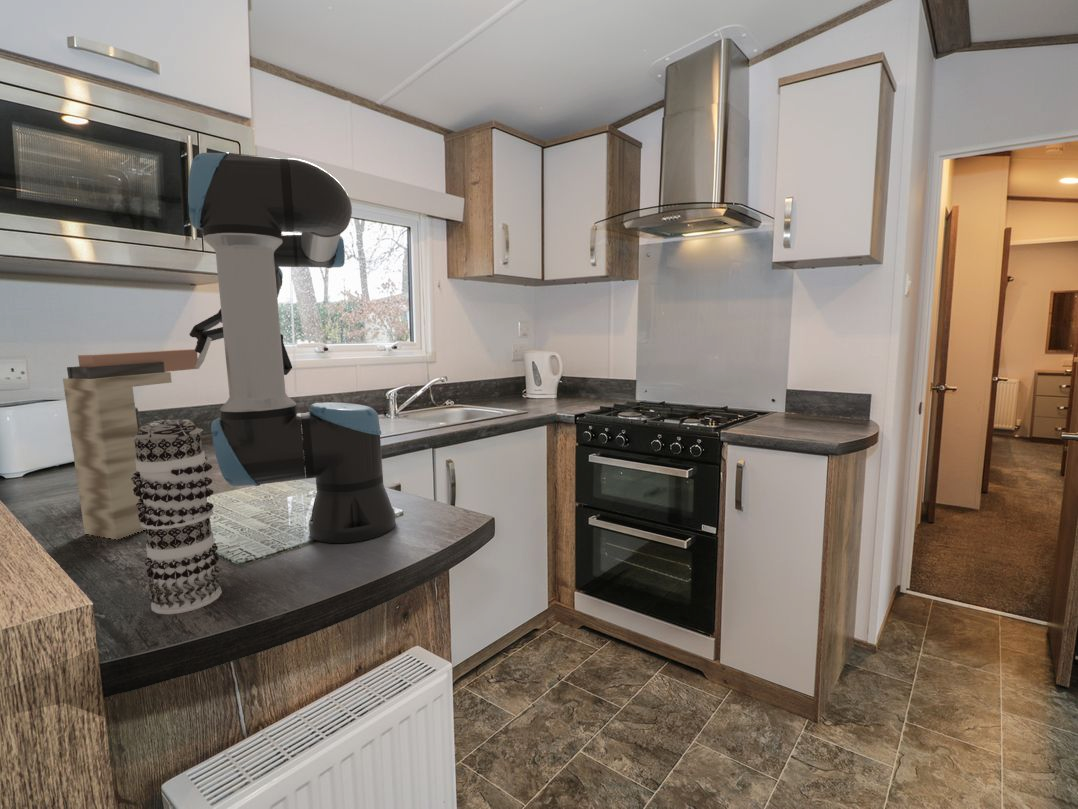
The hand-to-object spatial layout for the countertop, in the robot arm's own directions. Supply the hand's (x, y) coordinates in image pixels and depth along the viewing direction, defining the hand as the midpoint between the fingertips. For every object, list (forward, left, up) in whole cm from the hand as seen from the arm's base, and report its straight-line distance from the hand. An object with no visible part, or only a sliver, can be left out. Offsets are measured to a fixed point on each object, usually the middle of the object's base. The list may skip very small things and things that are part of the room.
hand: (235, 377), depth 116 cm
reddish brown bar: (+12, +10, +2) cm, 16 cm away
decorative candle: (-26, +34, -27) cm, 51 cm away
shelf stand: (+12, +15, -27) cm, 33 cm away
